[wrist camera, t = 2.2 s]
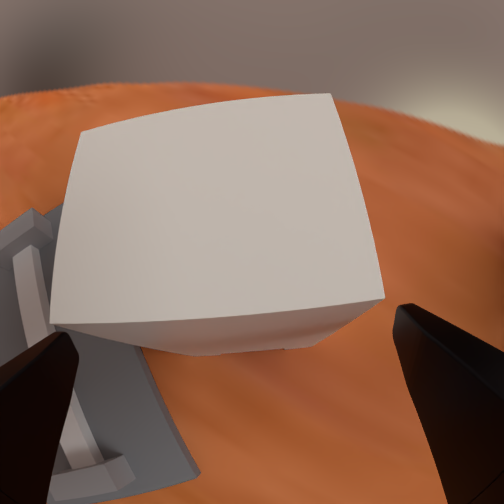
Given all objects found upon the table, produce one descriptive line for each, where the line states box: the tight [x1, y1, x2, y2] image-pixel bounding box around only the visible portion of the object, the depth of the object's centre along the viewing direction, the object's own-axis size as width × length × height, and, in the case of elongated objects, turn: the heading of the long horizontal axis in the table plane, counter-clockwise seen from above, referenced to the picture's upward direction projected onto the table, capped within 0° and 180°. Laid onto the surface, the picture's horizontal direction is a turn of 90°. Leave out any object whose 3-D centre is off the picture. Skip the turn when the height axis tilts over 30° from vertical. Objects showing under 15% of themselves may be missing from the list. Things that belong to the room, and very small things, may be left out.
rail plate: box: [0, 203, 201, 504], centre depth 16 cm, size 20×12×3 cm, turn 27°
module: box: [49, 94, 385, 356], centre depth 12 cm, size 6×6×12 cm
